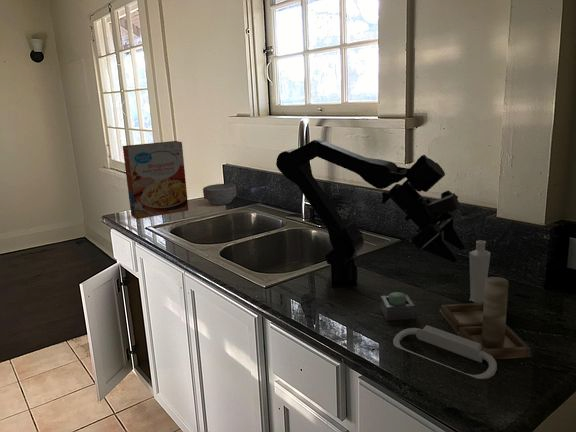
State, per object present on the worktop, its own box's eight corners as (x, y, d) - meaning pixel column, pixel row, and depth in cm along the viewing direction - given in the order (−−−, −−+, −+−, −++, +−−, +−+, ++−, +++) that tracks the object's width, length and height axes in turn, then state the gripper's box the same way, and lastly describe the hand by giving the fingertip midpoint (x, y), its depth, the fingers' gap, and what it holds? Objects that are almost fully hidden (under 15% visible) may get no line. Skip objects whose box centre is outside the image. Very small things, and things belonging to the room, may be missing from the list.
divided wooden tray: (477, 364, 90) (477, 352, 90) (438, 314, 111) (439, 303, 110) (531, 361, 90) (532, 349, 90) (483, 311, 111) (484, 301, 110)
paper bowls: (197, 204, 230) (195, 187, 228) (221, 198, 241) (220, 182, 239) (219, 208, 220) (218, 190, 218) (244, 201, 232) (242, 184, 230)
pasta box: (136, 219, 208) (127, 147, 200) (131, 215, 214) (122, 145, 207) (188, 210, 219) (181, 142, 212) (181, 207, 226) (175, 140, 219)
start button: (390, 316, 108) (391, 299, 107) (387, 309, 111) (387, 292, 110) (407, 315, 108) (407, 298, 107) (403, 308, 111) (403, 291, 110)
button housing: (386, 324, 107) (386, 307, 106) (380, 312, 113) (380, 296, 112) (414, 322, 107) (414, 305, 106) (406, 310, 113) (407, 294, 112)
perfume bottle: (478, 309, 112) (482, 246, 108) (463, 302, 116) (466, 241, 112) (493, 305, 114) (497, 242, 110) (477, 298, 118) (481, 237, 114)
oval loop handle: (386, 354, 98) (383, 339, 96) (409, 330, 102) (406, 316, 101) (484, 396, 84) (483, 379, 82) (506, 366, 88) (505, 350, 87)
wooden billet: (486, 350, 93) (490, 285, 90) (478, 340, 97) (481, 277, 94) (507, 349, 93) (512, 284, 90) (498, 338, 97) (502, 276, 94)
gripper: (427, 189, 105) (481, 245, 102) (446, 174, 120) (493, 222, 118) (391, 222, 110) (440, 276, 108) (414, 204, 126) (457, 250, 123)
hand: (460, 254), depth 114 cm, fingers open, 9 cm apart
